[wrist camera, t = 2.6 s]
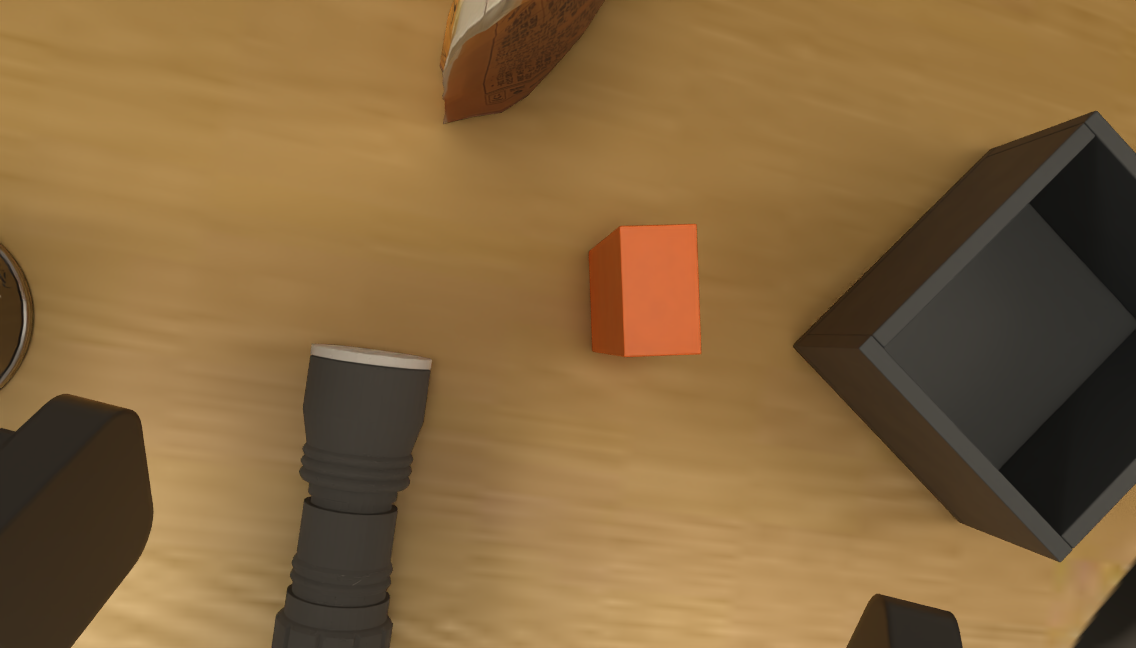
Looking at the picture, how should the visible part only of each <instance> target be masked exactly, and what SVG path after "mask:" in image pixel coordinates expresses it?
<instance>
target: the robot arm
mask: <svg viewBox="0 0 1136 648" xmlns="http://www.w3.org/2000/svg"><path fill="white" fill-rule="evenodd" d="M32 324H33V308H32V300H31V295H30V291H29V288H28V285H27V282H26V279H25V277H24V275H23V273H22V271H21V269H20V268H19V266H18V264H17V263H16V261H15V260H14V259H13V257H12V256H11V254H10V253H9V252H8V251H7V250H6V249H5V248H4V247H3V246H2V245H1V244H0V389H1V388H2V387H3V386H4V385H5V384H6V383H7V382H8V381H9V380H10V378H11V377H12V376H13V375H14V373H15V372H16V370H17V369H18V367H19V366H20V364H21V362H22V360H23V358H24V356H25V353H26V351H27V348H28V345H29V341H30V338H31V332H32ZM152 521H153V502H152V495H151V488H150V481H149V474H148V467H147V460H146V453H145V446H144V439H143V431H142V425H141V421H140V418H139V416H138V415H137V413H136V412H134V411H133V410H130V409H126V408H122V407H118V406H114V405H110V404H106V403H102V402H98V401H94V400H90V399H86V398H82V397H78V396H74V395H70V394H62V395H59V396H56V397H55V398H53V399H51V400H50V401H49V402H47V403H46V404H45V405H44V406H43V407H42V408H41V409H40V410H39V411H38V412H36V413H35V414H34V415H33V416H32V417H31V418H30V419H29V420H28V421H27V422H26V423H25V424H23V425H22V426H21V427H20V428H19V429H18V430H17V431H16V432H15V431H11V430H7V429H3V428H0V648H71V647H72V645H73V644H74V643H75V641H76V640H77V639H78V638H79V636H80V635H81V634H82V632H83V631H84V630H85V629H86V627H87V626H88V625H89V623H90V622H91V621H92V620H93V618H94V617H95V616H96V614H97V613H98V612H99V610H100V609H101V608H102V607H103V605H104V604H105V603H106V601H107V600H108V599H109V598H110V596H111V595H112V594H113V592H114V591H115V590H116V588H117V587H118V586H119V585H120V583H121V582H122V581H123V579H124V578H125V577H126V576H127V574H128V573H129V572H130V570H131V569H132V568H133V566H134V565H135V564H136V562H137V561H138V559H139V557H140V556H141V554H142V552H143V550H144V548H145V545H146V543H147V540H148V537H149V534H150V531H151V527H152ZM846 648H963V647H962V642H961V636H960V631H959V627H958V623H957V620H956V618H955V616H954V615H953V614H952V613H951V612H949V611H945V610H941V609H937V608H933V607H929V606H925V605H921V604H917V603H913V602H909V601H905V600H901V599H897V598H893V597H889V596H885V595H881V594H875V595H874V596H873V597H872V598H871V599H870V601H869V602H868V604H867V606H866V608H865V610H864V612H863V614H862V616H861V618H860V621H859V623H858V625H857V627H856V629H855V631H854V633H853V635H852V637H851V639H850V641H849V643H848V645H847V647H846Z"/></svg>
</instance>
